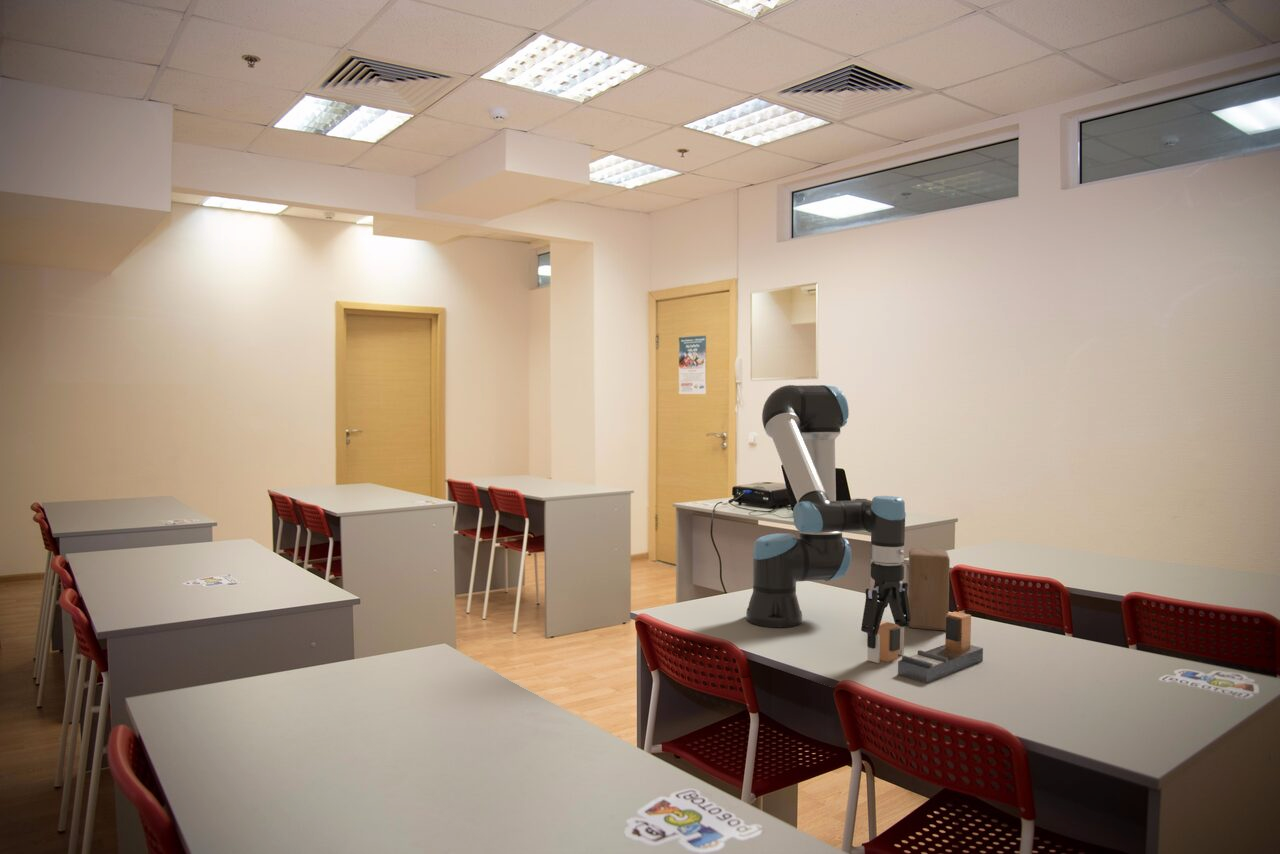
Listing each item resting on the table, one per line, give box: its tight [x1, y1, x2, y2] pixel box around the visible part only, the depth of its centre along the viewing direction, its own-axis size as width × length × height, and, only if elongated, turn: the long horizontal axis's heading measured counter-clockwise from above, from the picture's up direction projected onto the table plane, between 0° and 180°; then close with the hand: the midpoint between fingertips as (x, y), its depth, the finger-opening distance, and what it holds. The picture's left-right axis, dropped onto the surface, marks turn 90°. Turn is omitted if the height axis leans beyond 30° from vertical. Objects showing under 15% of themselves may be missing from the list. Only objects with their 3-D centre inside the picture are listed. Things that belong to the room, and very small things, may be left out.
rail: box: [897, 611, 984, 684], centre depth 187 cm, size 7×24×11 cm, turn 130°
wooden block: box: [907, 547, 951, 632], centre depth 221 cm, size 10×10×20 cm
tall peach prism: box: [877, 621, 900, 663], centre depth 193 cm, size 4×5×8 cm
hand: (885, 657), depth 193 cm, fingers open, 9 cm apart
